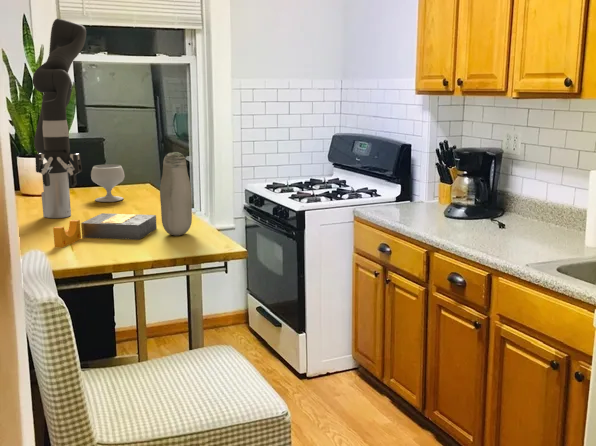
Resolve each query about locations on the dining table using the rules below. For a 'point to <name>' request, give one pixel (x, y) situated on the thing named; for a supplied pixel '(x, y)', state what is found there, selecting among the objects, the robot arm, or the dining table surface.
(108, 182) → the chalice
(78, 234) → the pipe clamp
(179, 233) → the grey bottle
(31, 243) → the dining table surface
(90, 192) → the dining table surface
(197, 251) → the dining table surface
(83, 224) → the steel riser
